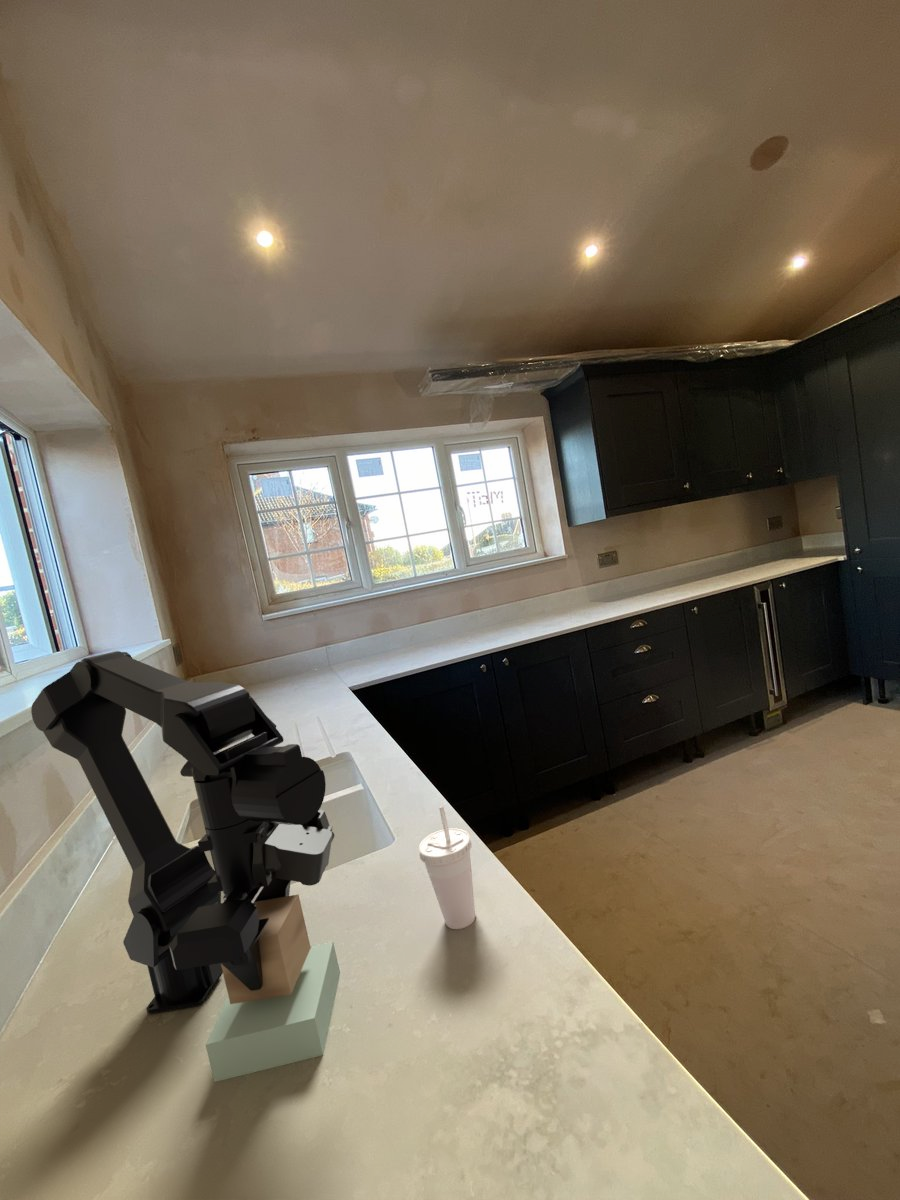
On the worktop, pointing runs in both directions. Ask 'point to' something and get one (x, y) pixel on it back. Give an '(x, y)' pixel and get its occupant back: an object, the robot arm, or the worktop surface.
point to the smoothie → (450, 873)
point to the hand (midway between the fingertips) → (269, 963)
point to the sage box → (277, 1022)
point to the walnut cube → (275, 951)
